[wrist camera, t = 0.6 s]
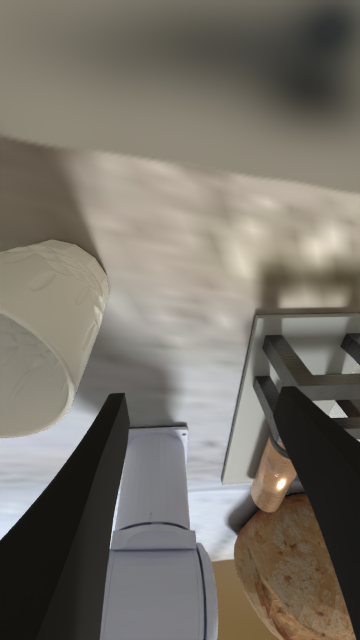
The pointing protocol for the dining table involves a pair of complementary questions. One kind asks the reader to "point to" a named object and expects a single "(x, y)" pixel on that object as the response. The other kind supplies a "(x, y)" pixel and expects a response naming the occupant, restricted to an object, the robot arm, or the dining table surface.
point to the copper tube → (272, 476)
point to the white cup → (45, 331)
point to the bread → (291, 574)
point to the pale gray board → (315, 352)
